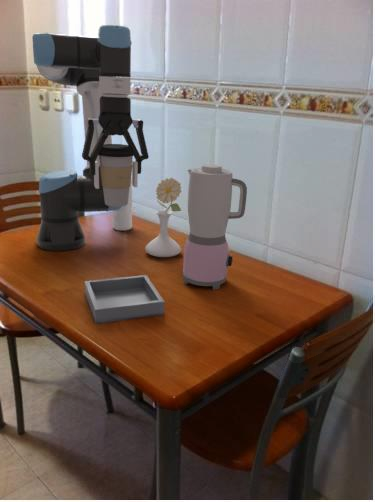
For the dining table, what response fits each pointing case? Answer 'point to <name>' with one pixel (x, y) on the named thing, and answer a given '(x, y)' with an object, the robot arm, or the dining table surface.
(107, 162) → the coffee cup
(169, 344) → the dining table surface
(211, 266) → the blender
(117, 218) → the water bottle
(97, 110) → the robot arm
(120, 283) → the tray
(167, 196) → the flower in vase
